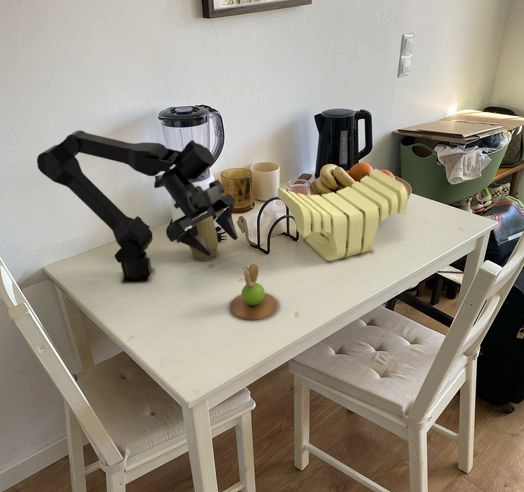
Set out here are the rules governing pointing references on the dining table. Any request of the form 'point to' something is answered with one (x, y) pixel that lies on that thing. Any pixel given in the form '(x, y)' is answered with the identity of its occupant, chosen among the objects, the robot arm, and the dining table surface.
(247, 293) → the snail figurine
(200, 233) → the squeeze bottle
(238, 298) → the plate
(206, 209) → the robot arm
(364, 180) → the slatted curved stool
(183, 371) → the dining table surface
